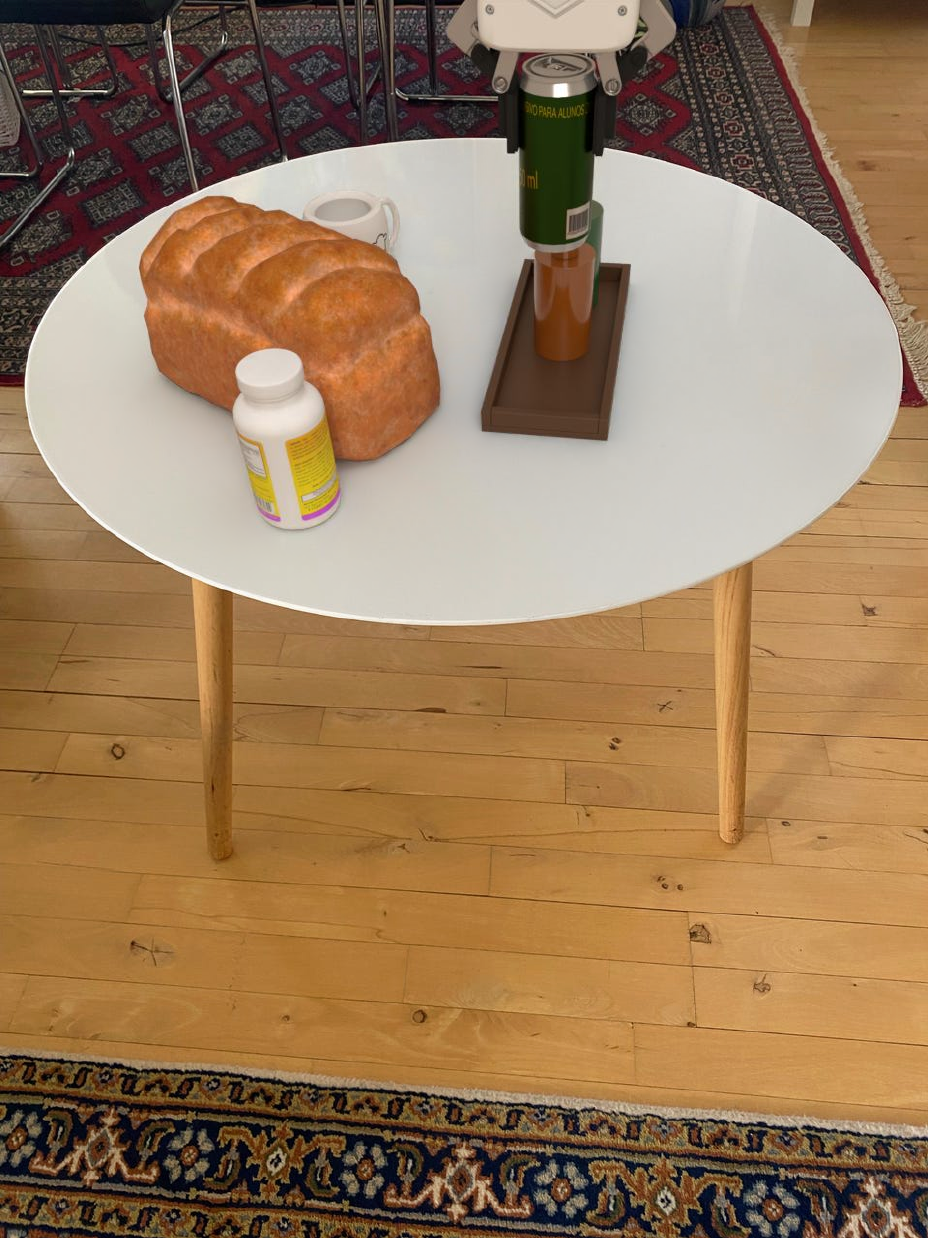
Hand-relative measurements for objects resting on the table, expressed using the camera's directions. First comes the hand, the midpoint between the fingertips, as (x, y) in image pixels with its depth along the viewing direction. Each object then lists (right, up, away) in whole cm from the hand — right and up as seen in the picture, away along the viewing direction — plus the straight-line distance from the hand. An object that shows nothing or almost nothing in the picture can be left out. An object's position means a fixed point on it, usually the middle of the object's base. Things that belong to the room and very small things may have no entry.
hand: (556, 144), depth 70 cm
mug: (-17, +2, +33) cm, 37 cm away
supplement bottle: (-20, -25, +9) cm, 33 cm away
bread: (-22, -13, +19) cm, 32 cm away
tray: (+2, -9, +22) cm, 23 cm away
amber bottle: (+2, -8, +21) cm, 23 cm away
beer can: (0, -5, +5) cm, 7 cm away
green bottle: (+4, -3, +26) cm, 27 cm away
